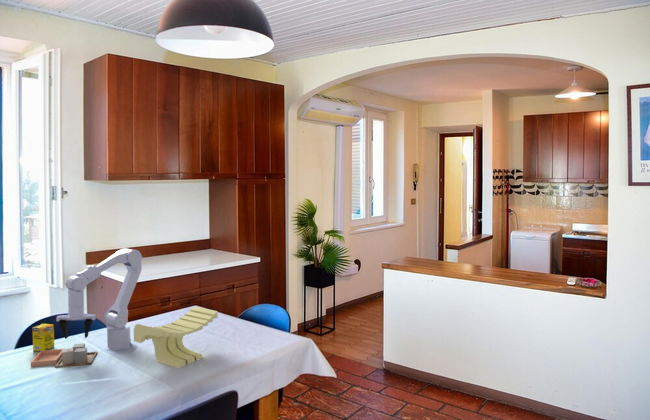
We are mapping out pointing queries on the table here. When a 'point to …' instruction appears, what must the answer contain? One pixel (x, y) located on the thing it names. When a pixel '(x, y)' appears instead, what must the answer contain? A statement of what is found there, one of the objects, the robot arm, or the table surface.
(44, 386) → the table surface
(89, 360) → the walnut tray
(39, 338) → the supplement box
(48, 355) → the terracotta bin
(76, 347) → the block
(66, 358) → the white block
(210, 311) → the slatted curved stool
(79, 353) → the block
